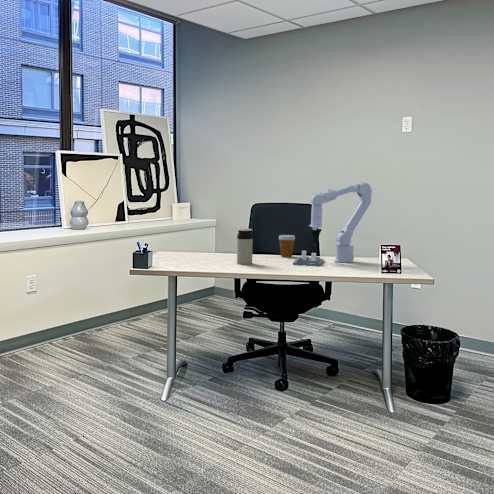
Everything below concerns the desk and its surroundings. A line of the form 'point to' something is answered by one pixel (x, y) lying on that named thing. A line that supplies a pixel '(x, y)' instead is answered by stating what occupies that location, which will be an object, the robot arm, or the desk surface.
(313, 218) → the robot arm
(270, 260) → the desk surface
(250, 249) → the travel mug
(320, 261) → the switch bank
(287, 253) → the disposable coffee cup
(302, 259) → the tab
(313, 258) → the tab
